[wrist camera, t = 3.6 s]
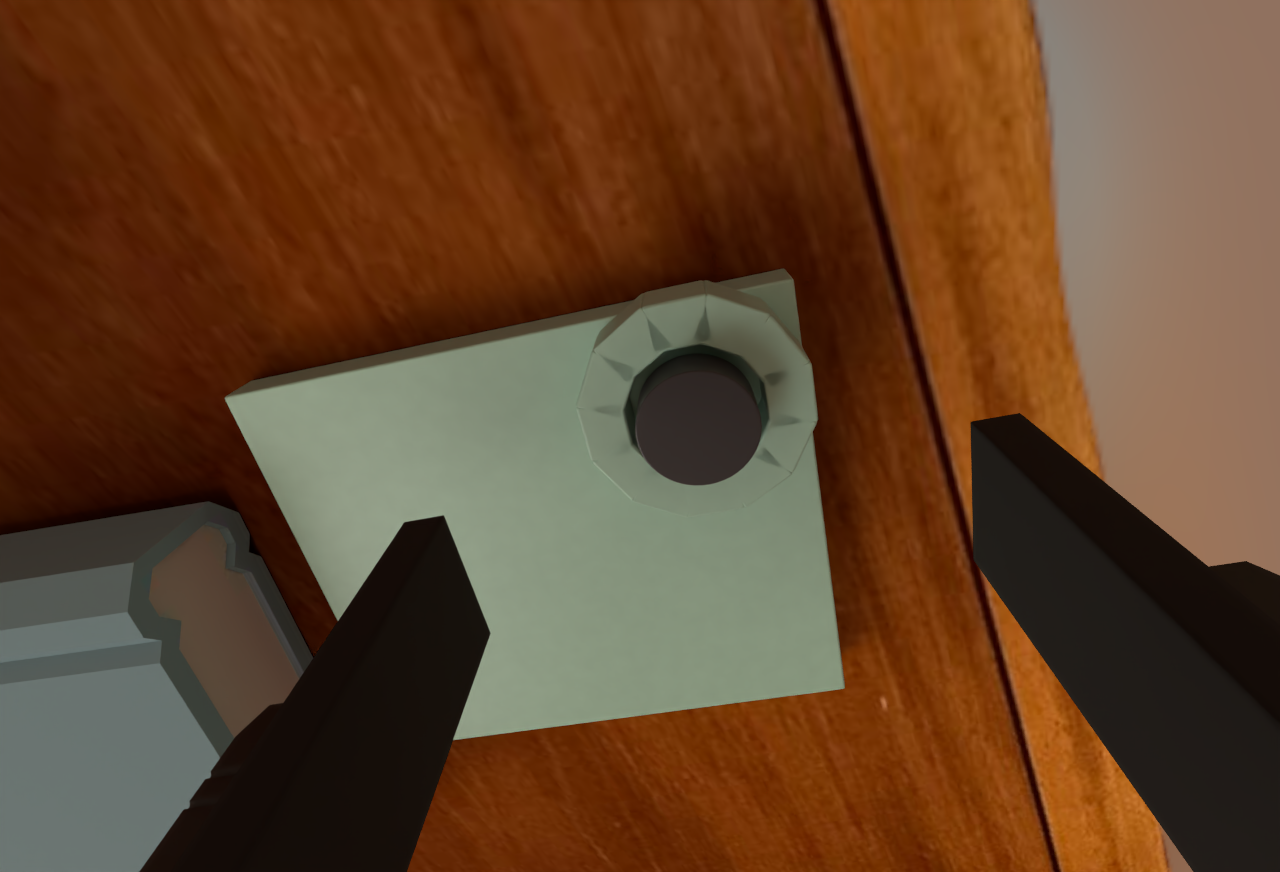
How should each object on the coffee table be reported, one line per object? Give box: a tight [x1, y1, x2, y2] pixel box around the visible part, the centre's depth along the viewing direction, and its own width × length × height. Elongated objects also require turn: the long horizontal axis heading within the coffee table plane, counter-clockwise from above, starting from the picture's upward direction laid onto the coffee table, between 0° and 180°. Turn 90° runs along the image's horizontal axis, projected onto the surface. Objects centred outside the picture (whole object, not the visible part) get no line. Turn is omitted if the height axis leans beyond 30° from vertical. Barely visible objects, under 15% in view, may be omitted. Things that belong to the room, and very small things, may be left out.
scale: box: [225, 269, 845, 740], centre depth 20 cm, size 16×14×3 cm
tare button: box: [635, 353, 762, 485], centre depth 16 cm, size 3×3×1 cm
